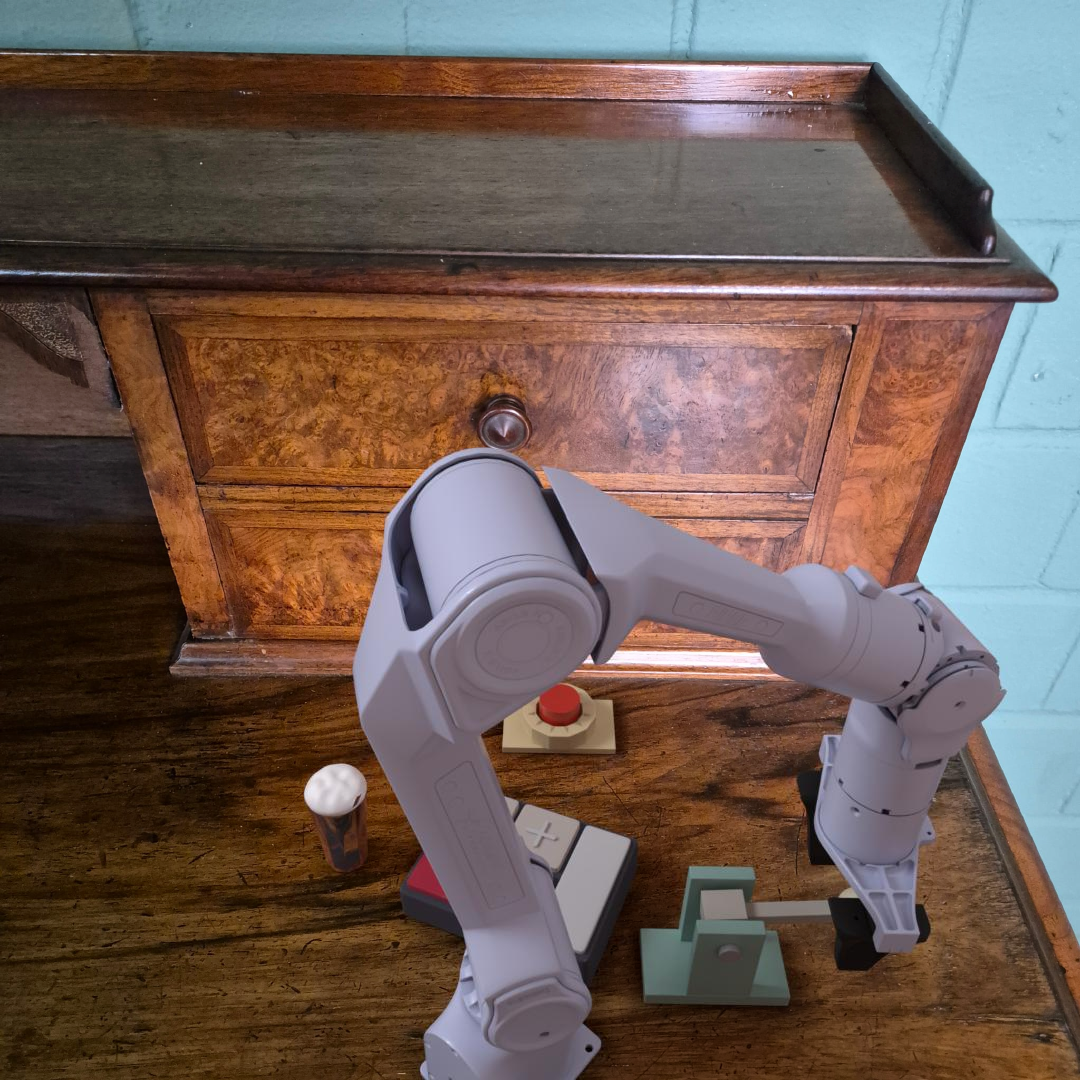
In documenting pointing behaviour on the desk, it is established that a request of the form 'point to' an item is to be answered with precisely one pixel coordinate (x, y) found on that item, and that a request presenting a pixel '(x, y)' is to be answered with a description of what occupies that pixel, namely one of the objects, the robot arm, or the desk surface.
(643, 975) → the bracket
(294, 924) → the desk surface
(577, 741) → the button box
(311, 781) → the milkshake
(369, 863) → the desk surface
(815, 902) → the lever
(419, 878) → the calculator
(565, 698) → the stop button
